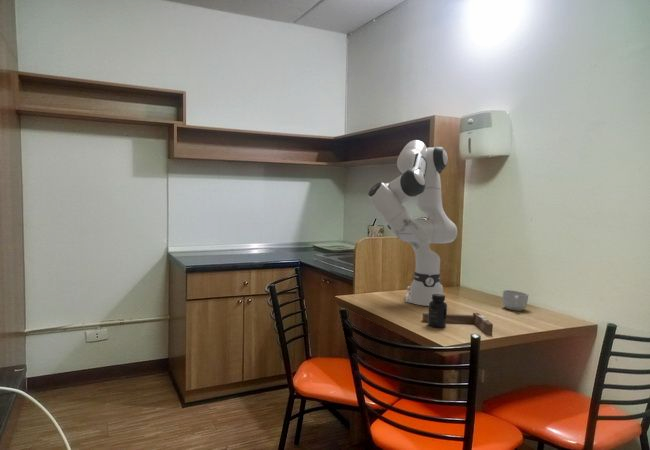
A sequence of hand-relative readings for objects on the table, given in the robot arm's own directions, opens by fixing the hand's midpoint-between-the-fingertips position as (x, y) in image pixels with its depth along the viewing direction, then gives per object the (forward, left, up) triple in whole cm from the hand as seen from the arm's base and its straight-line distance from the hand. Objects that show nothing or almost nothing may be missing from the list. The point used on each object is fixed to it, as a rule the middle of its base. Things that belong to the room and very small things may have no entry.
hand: (422, 248), depth 173 cm
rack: (0, +14, -30) cm, 33 cm away
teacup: (-32, +50, -30) cm, 66 cm away
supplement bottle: (0, +7, -30) cm, 31 cm away
